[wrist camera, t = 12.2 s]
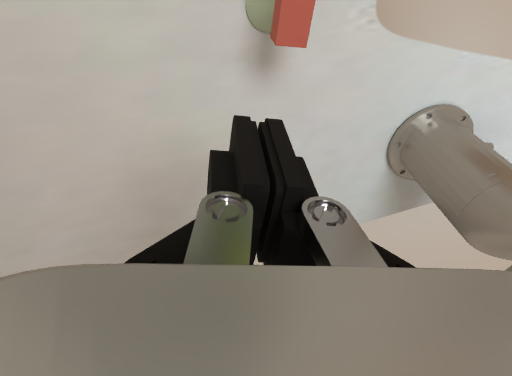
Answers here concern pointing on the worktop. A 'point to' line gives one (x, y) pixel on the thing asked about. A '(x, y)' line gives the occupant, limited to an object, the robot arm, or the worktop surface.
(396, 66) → the worktop surface
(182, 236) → the robot arm
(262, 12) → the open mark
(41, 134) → the worktop surface
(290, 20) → the lever
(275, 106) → the worktop surface
